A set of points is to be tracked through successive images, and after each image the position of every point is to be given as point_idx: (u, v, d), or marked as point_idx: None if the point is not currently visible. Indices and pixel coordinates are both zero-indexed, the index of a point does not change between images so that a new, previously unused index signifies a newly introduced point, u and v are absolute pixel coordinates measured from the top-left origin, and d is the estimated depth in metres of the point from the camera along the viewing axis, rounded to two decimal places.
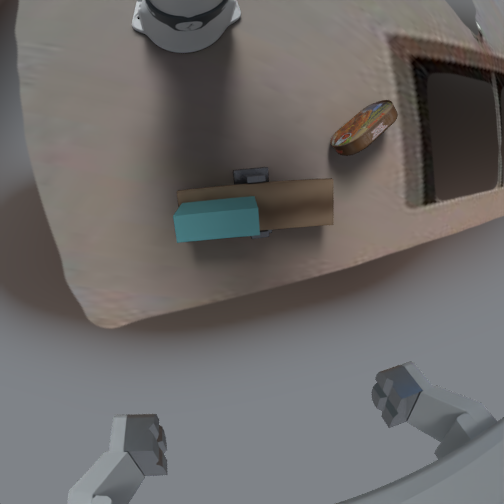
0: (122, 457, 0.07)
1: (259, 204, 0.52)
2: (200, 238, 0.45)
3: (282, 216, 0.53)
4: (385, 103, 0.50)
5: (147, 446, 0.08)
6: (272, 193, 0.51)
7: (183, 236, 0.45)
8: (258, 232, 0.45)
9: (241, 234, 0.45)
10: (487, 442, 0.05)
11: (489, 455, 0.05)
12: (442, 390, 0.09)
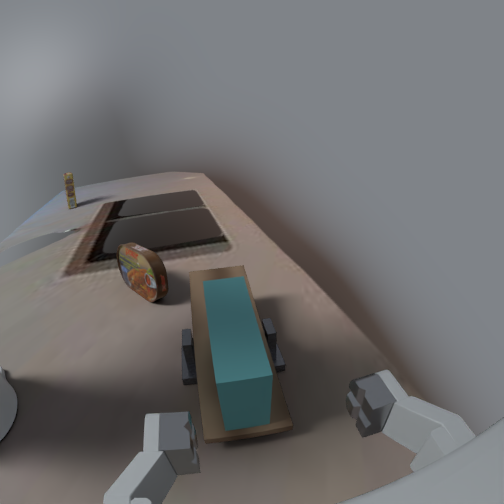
0: (158, 456, 0.07)
1: None
2: (258, 340, 0.24)
3: None
4: (120, 261, 0.56)
5: (184, 444, 0.08)
6: None
7: (257, 365, 0.22)
8: (239, 277, 0.31)
9: (245, 293, 0.29)
10: (487, 442, 0.05)
11: (489, 455, 0.05)
12: (418, 401, 0.09)
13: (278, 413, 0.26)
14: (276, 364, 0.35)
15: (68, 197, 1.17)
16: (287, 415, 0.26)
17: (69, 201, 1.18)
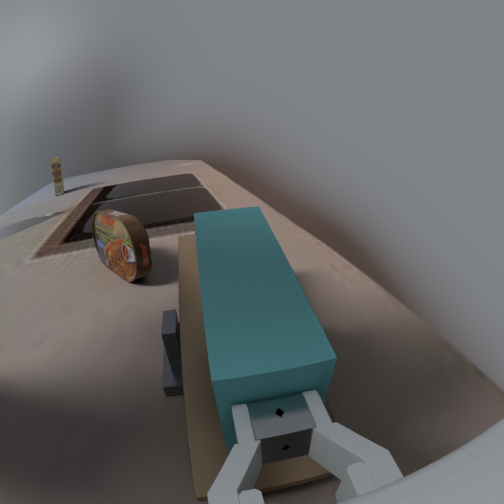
0: (257, 446, 0.08)
1: None
2: (297, 293, 0.12)
3: None
4: (96, 235, 0.44)
5: (279, 430, 0.08)
6: None
7: (300, 339, 0.10)
8: (252, 208, 0.19)
9: (263, 226, 0.17)
10: (487, 442, 0.05)
11: (489, 455, 0.05)
12: (344, 428, 0.08)
13: None
14: None
15: (55, 183, 1.05)
16: None
17: (56, 187, 1.05)
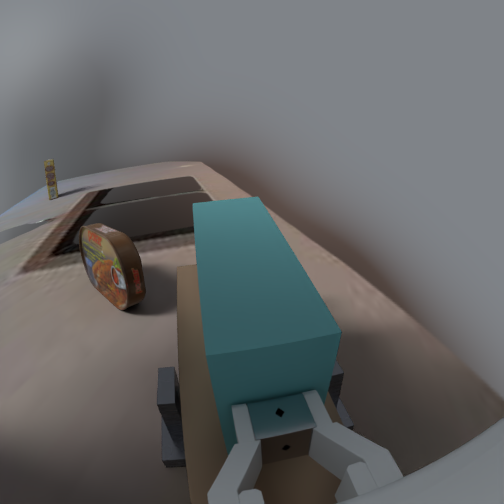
0: (257, 446, 0.08)
1: None
2: (297, 271, 0.12)
3: None
4: (84, 251, 0.38)
5: (280, 430, 0.08)
6: None
7: (302, 314, 0.10)
8: (252, 198, 0.19)
9: (262, 213, 0.17)
10: (487, 442, 0.05)
11: (489, 455, 0.05)
12: (344, 428, 0.08)
13: None
14: None
15: (48, 186, 0.99)
16: None
17: (49, 191, 1.00)
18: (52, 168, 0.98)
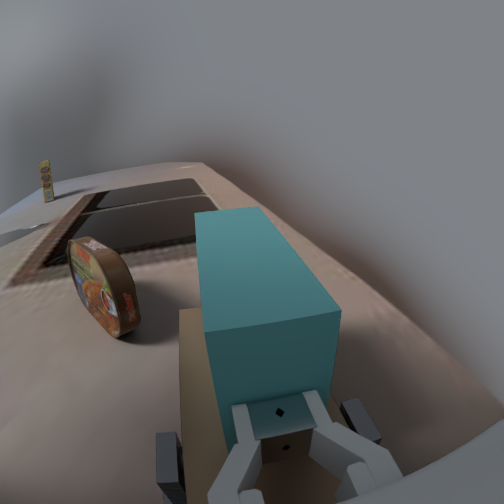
0: (257, 446, 0.08)
1: None
2: (296, 262, 0.12)
3: None
4: (73, 267, 0.34)
5: (280, 430, 0.08)
6: (214, 411, 0.15)
7: (301, 296, 0.10)
8: (252, 207, 0.20)
9: (262, 218, 0.17)
10: (487, 442, 0.05)
11: (489, 455, 0.05)
12: (344, 428, 0.08)
13: None
14: None
15: (44, 188, 0.94)
16: None
17: (45, 193, 0.95)
18: (48, 170, 0.93)
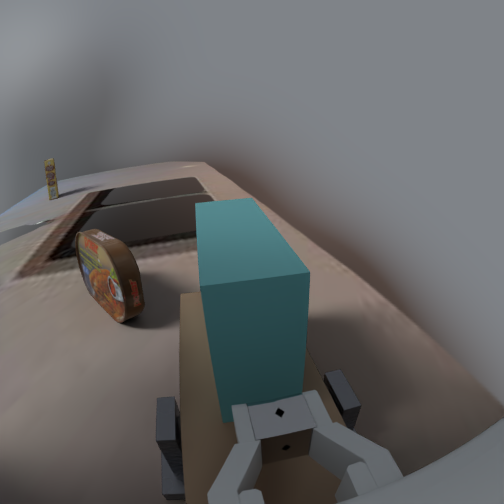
0: (257, 446, 0.08)
1: None
2: (278, 239, 0.15)
3: None
4: (80, 258, 0.36)
5: (279, 430, 0.08)
6: (210, 379, 0.17)
7: (278, 262, 0.12)
8: (246, 199, 0.22)
9: (254, 207, 0.20)
10: (487, 442, 0.05)
11: (489, 455, 0.05)
12: (344, 428, 0.08)
13: None
14: None
15: (48, 186, 0.97)
16: None
17: (50, 191, 0.98)
18: (52, 168, 0.96)
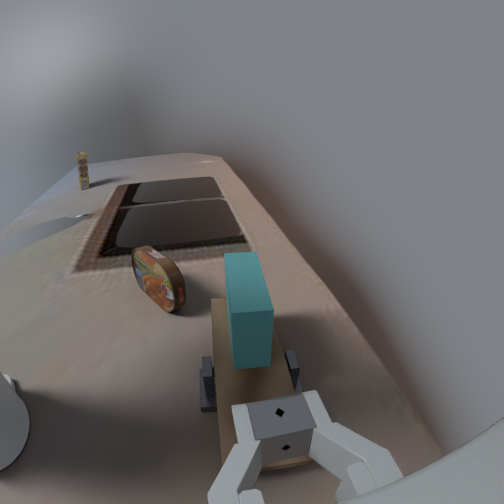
0: (257, 446, 0.08)
1: None
2: (264, 289, 0.33)
3: None
4: (135, 263, 0.55)
5: (280, 430, 0.08)
6: (228, 348, 0.36)
7: (262, 303, 0.30)
8: (253, 252, 0.40)
9: (256, 262, 0.38)
10: (487, 442, 0.05)
11: (489, 455, 0.05)
12: (344, 428, 0.08)
13: None
14: None
15: (81, 177, 1.15)
16: None
17: (82, 182, 1.16)
18: (85, 161, 1.13)
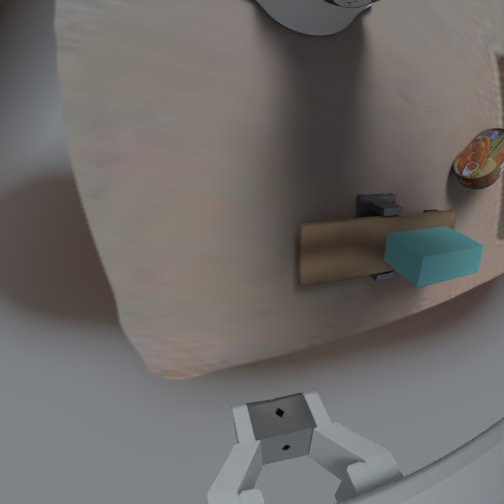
0: (257, 446, 0.08)
1: None
2: (437, 280, 0.34)
3: None
4: (502, 132, 0.38)
5: (280, 430, 0.08)
6: (406, 228, 0.40)
7: (425, 279, 0.33)
8: (476, 269, 0.35)
9: (466, 272, 0.35)
10: (487, 442, 0.05)
11: (489, 455, 0.05)
12: (344, 429, 0.08)
13: (312, 277, 0.40)
14: None
15: None
16: (309, 283, 0.40)
17: None
18: None
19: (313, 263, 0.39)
